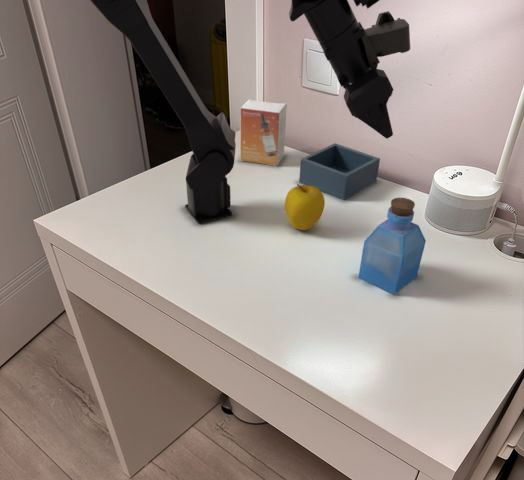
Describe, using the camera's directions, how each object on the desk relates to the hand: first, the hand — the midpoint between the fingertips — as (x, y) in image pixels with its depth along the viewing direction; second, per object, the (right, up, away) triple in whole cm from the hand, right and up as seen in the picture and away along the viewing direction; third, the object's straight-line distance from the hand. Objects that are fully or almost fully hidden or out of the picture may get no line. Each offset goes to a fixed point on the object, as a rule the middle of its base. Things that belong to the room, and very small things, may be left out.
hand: (384, 125), depth 83 cm
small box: (-19, +4, +27) cm, 33 cm away
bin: (-5, -3, +19) cm, 20 cm away
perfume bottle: (0, -24, -4) cm, 25 cm away
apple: (-12, -15, +7) cm, 20 cm away
